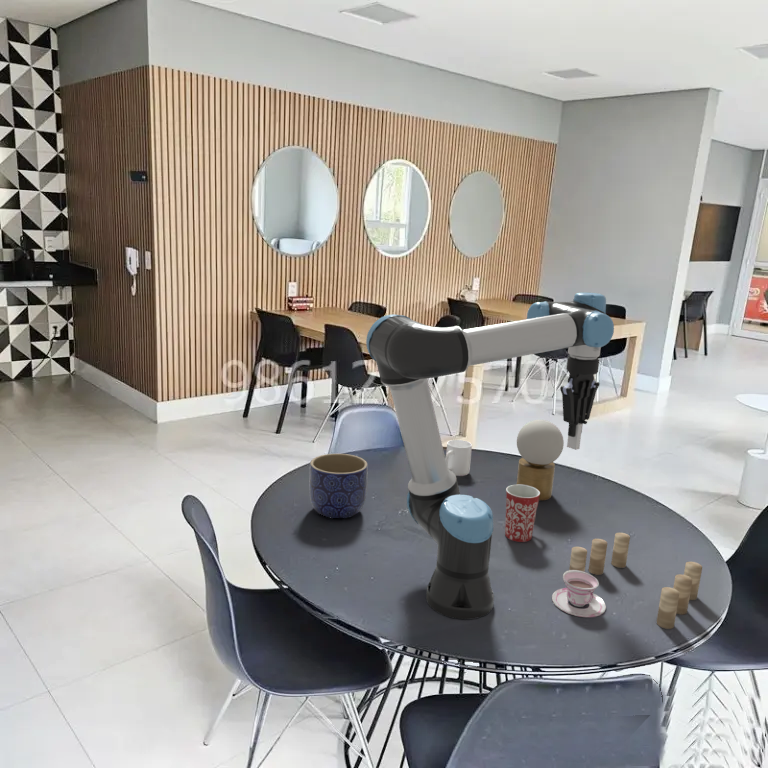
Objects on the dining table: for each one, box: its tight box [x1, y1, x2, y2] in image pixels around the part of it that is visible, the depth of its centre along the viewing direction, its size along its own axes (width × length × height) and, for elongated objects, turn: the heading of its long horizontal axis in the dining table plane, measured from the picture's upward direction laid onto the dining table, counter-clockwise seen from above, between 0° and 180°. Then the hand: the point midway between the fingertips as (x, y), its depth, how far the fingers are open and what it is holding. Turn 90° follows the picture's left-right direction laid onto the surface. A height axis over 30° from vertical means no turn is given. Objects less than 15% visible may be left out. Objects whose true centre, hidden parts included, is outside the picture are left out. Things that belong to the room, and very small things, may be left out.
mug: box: [504, 483, 540, 543], centre depth 189 cm, size 13×9×14 cm
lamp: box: [515, 419, 565, 502], centre depth 215 cm, size 15×14×25 cm
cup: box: [445, 439, 473, 477], centre depth 233 cm, size 8×12×10 cm
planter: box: [308, 453, 369, 519], centre depth 198 cm, size 17×16×15 cm
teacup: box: [551, 570, 607, 618], centre depth 158 cm, size 12×12×6 cm
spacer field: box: [569, 532, 703, 630], centre depth 164 cm, size 20×27×8 cm
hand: (573, 447), depth 175 cm, fingers closed
